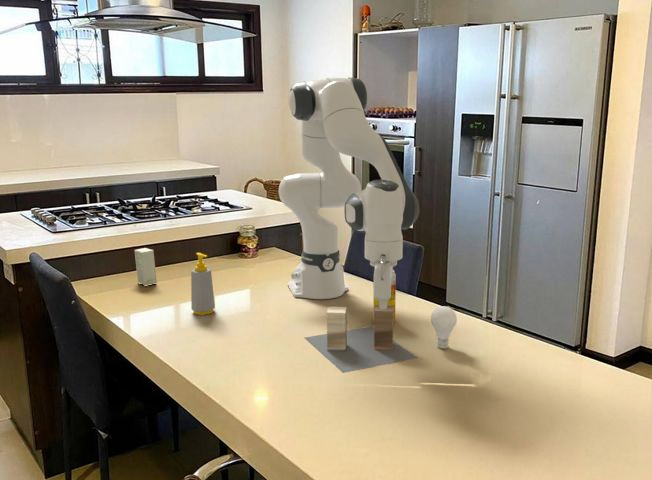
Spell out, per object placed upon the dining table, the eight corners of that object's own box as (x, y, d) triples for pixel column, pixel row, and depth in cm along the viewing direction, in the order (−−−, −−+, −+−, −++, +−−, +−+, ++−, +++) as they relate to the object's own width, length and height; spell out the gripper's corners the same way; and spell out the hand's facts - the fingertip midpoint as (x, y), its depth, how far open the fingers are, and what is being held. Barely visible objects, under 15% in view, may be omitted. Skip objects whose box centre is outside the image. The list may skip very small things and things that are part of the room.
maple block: (345, 351, 156) (345, 312, 154) (327, 350, 156) (326, 312, 154) (346, 344, 160) (346, 307, 158) (329, 344, 161) (328, 306, 158)
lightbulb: (439, 342, 162) (440, 301, 160) (460, 348, 158) (462, 306, 155) (424, 348, 158) (425, 306, 155) (446, 355, 153) (447, 312, 151)
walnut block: (392, 349, 156) (392, 311, 154) (374, 349, 157) (374, 310, 155) (392, 342, 161) (393, 305, 159) (374, 342, 161) (375, 305, 159)
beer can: (394, 327, 173) (394, 274, 170) (372, 325, 174) (372, 273, 171) (396, 319, 179) (396, 268, 176) (374, 318, 180) (375, 267, 177)
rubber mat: (304, 339, 165) (303, 337, 165) (371, 327, 173) (371, 326, 173) (342, 374, 144) (342, 372, 144) (418, 359, 151) (418, 357, 151)
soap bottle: (199, 317, 183) (195, 257, 179) (187, 312, 188) (183, 253, 184) (219, 312, 187) (216, 253, 183) (207, 306, 192) (204, 249, 188)
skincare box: (157, 284, 216) (154, 250, 214) (145, 287, 213) (142, 252, 211) (148, 281, 221) (146, 247, 218) (136, 283, 218) (134, 249, 215)
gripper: (396, 261, 137) (396, 321, 140) (397, 241, 157) (396, 295, 159) (367, 260, 137) (367, 321, 140) (371, 241, 157) (371, 294, 160)
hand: (383, 307), depth 150 cm, fingers closed
